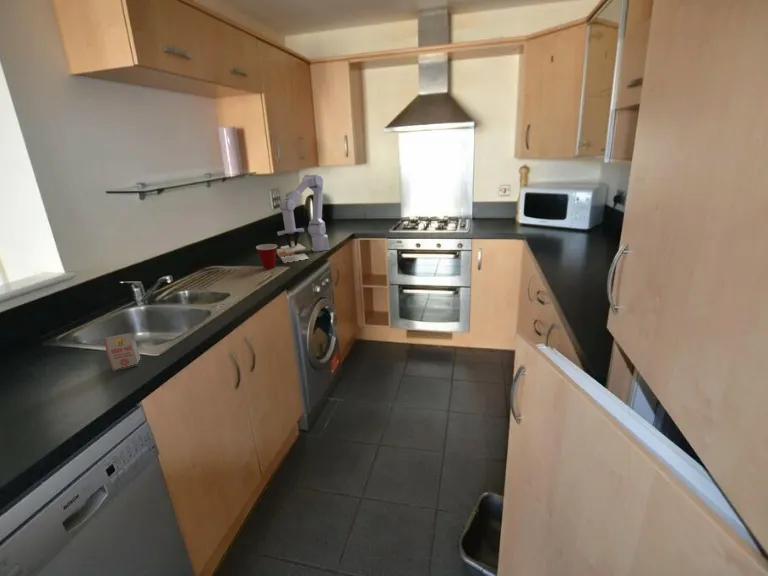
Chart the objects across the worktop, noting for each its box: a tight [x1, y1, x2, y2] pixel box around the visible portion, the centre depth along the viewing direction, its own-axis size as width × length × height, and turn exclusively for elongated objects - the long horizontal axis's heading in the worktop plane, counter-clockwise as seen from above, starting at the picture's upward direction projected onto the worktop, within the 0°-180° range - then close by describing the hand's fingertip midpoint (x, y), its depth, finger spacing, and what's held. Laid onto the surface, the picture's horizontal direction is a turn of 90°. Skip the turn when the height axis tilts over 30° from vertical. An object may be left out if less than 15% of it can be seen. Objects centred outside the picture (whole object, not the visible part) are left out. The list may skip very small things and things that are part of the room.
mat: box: [280, 252, 309, 264], centre depth 227 cm, size 14×14×1 cm
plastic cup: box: [255, 243, 278, 270], centre depth 210 cm, size 11×11×12 cm
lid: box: [280, 240, 306, 253], centre depth 225 cm, size 11×11×4 cm
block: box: [276, 248, 296, 258], centre depth 238 cm, size 9×9×3 cm
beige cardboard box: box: [103, 332, 142, 371], centre depth 117 cm, size 4×7×10 cm, turn 109°
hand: (292, 246), depth 225 cm, fingers closed on lid, 3 cm apart
